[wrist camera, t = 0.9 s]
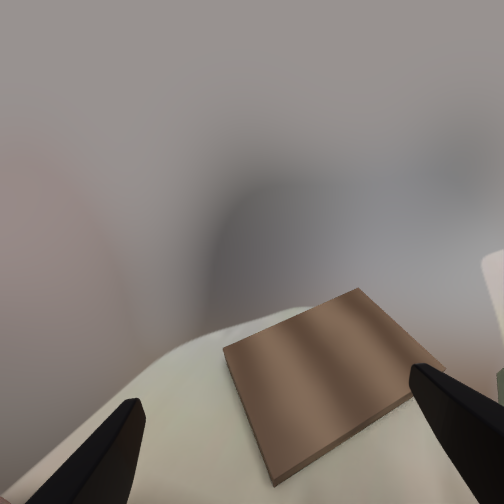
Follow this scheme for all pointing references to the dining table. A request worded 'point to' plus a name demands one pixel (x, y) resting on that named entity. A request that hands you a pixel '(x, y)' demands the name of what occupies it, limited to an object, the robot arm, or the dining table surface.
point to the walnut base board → (322, 378)
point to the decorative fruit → (3, 501)
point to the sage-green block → (500, 386)
